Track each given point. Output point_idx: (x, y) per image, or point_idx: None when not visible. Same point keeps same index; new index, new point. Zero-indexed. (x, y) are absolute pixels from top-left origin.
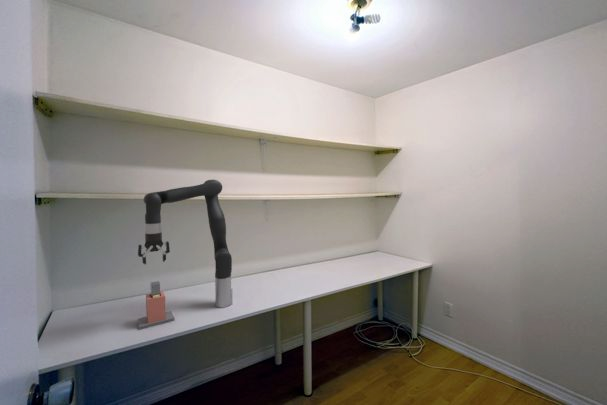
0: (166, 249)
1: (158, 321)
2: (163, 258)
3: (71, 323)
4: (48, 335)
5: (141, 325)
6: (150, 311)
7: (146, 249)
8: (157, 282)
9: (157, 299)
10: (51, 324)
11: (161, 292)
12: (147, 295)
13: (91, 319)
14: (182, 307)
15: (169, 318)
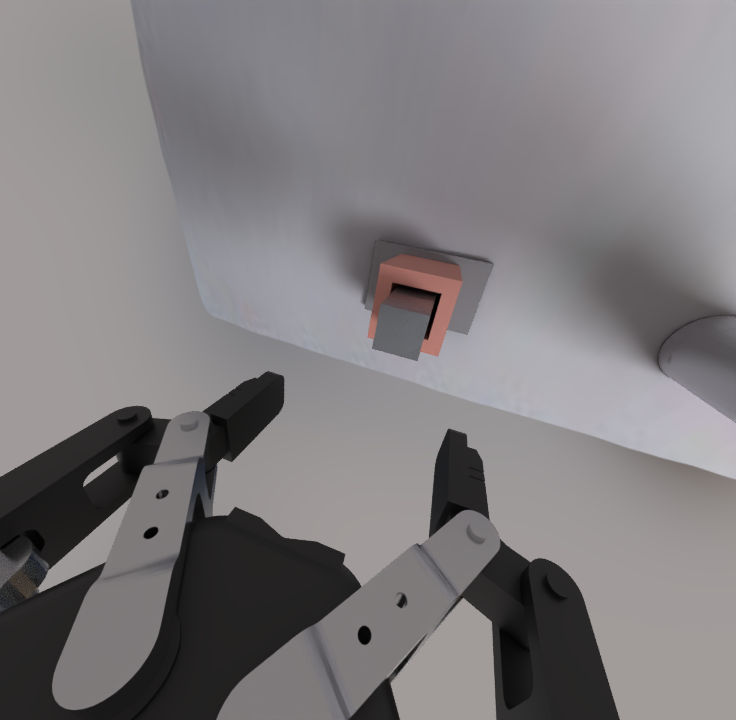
0: (527, 632)
1: None
2: (435, 494)
3: (199, 61)
4: (165, 132)
5: (371, 304)
6: None
7: (138, 514)
8: (414, 333)
9: None
10: (142, 10)
11: (447, 299)
12: (381, 286)
13: (253, 72)
14: (562, 237)
15: (453, 325)
